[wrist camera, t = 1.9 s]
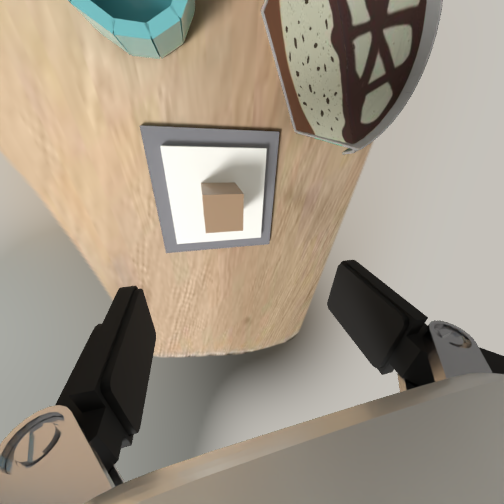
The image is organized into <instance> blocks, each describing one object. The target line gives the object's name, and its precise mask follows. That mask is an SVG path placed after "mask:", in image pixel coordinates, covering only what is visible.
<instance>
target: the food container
mask: <svg viewBox="0 0 504 504" xmlns="http://www.w3.org/2000/svg"><path fill="white" fill-rule="evenodd" d="M442 2H443V0H264V3H263V6H262V8H261V14H262V17H263V21H264V25H265V28H266V32H267V35H268V39H269V42H270V46H271V50H272V53H273V57H274V60H275V64H276V68H277V71H278V75H279V78H280V82H281V86H282V89H283V93H284V96H285V100H286V103H287V107H288V111H289V114H290V118H291V121H292V125H293V129H294V132H295V133H298V134H301V135H305V136H308V137H312V138H315V139H319V140H322V141H326V142H329V143H333V144H336V145H340V146H343V147H347V148H348V149H347V150H345V151H344V152H342V154H343V155H344V154H350V153H355V152H356V151H358V150H361V149H362V148H364V147H365V146H367V145H368V144H370V143H371V142H372V141H374V140H375V139H376V138H377V137H378V136H379V135H381V134H382V133H383V132H384V131H385V129H386V128H388V126H389V125H390V124H391V123H392V122H393V121H394V120H395V118H396V117H397V115H399V113H400V112H401V111H402V109H403V108H404V106H405V105H406V103H407V101H408V100H409V98H410V97H411V95H412V94H413V92H414V90H415V88H416V86H417V84H418V82H419V80H420V78H421V76H422V74H423V71H424V69H425V66H426V64H427V61H428V59H429V56H430V53H431V50H432V47H433V44H434V40H435V37H436V34H437V29H438V25H439V20H440V15H441V10H442Z"/></svg>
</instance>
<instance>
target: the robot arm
mask: <svg viewBox="0 0 504 504" xmlns="http://www.w3.org/2000/svg"><path fill="white" fill-rule="evenodd" d="M327 305H328V308H329V310H330V311H331V312H332V313H333V315H334V316H335V318H336V319H337V320H338V322H339V323H340V324H341V325H342V327H343V328H344V329H345V331H346V332H347V333H348V334H349V336H350V337H351V338H352V340H353V341H354V342H355V344H356V345H357V346H358V347H359V349H360V350H361V351H362V352H363V354H364V355H365V356H366V358H367V359H368V360H369V361H370V363H371V364H372V365H373V366H374V367H375V368H377V369H378V370H379V371H380V373H381V374H382V375H383V374H387V373H390V372H392V371H393V370H394V369H395V370H396V372H397V373H398V380H399V388H400V393H396V394H393V395H390V396H386V397H383V398H380V399H377V400H373V401H370V402H367V403H364V404H360V405H357V406H354V407H351V408H348V409H344V410H341V411H338V412H335V413H332V414H328V415H325V416H322V417H319V418H315V419H312V420H309V421H306V422H303V423H299V424H296V425H293V426H290V427H287V428H284V429H281V430H277V431H274V432H271V433H268V434H265V435H262V436H258V437H256V438H252V439H249V440H246V441H243V442H240V443H237V444H233V445H230V446H227V447H224V448H221V449H218V450H215V451H211V452H209V453H205V454H203V455H200V456H197V457H194V458H191V459H188V460H185V461H182V462H179V463H176V464H173V465H170V466H167V467H164V468H161V469H158V470H155V471H153V472H151V473H148V474H145V475H143V476H140V477H138V478H135V479H133V480H130V481H128V482H124V480H123V478H122V476H121V474H120V473H119V471H118V469H117V467H116V466H115V463H116V462H117V461H118V459H119V454H120V450H121V448H123V447H127V446H131V444H132V440H133V435H134V434H135V433H138V432H139V429H140V425H141V419H142V414H143V408H144V403H145V397H146V392H147V386H148V380H149V375H150V368H151V364H152V358H153V353H154V347H155V341H156V332H155V329H154V325H153V322H152V319H151V315H150V312H149V309H148V306H147V302H146V299H145V296H144V292H143V290H142V289H138V288H137V286H130V287H122V288H119V290H118V292H117V294H116V296H115V298H114V300H113V302H112V304H111V307H110V309H109V311H108V313H107V315H106V317H105V319H104V321H103V323H102V324H98V325H97V326H96V327H95V328H94V330H93V332H92V333H91V335H90V338H89V339H88V341H87V343H86V345H85V347H84V349H83V351H82V353H81V355H80V357H79V359H78V361H77V363H76V365H75V368H74V369H73V371H72V373H71V375H70V377H69V379H68V381H67V383H66V385H65V387H64V389H63V391H62V393H61V395H60V397H59V399H58V401H57V403H56V405H55V406H50V407H47V408H45V409H42V410H40V411H38V412H36V413H34V414H33V415H31V416H29V417H28V418H26V419H25V420H24V421H22V422H21V423H20V424H19V425H18V426H16V427H15V428H14V429H13V430H12V431H11V432H10V433H9V434H8V435H7V437H5V438H4V440H3V441H2V442H1V444H0V504H504V356H502V355H499V354H496V353H493V352H491V351H487V350H485V349H482V348H479V347H478V345H477V343H476V342H475V341H474V339H473V338H472V337H471V336H470V335H469V334H467V333H466V332H465V331H463V330H462V329H461V328H459V327H457V326H454V325H453V324H450V323H447V322H444V321H432V322H431V323H430V324H429V325H428V326H427V325H426V324H425V321H426V320H427V318H428V317H426V316H425V315H424V314H423V313H421V312H420V311H419V310H418V309H416V308H415V307H414V306H413V305H411V304H410V303H409V302H407V301H406V300H405V299H403V298H402V297H401V296H400V295H399V294H397V293H396V292H395V291H393V290H392V289H391V288H390V287H388V286H387V285H386V284H385V283H383V282H382V281H381V280H379V279H378V278H377V277H376V276H374V275H373V274H372V273H371V272H369V271H368V270H367V269H365V268H364V267H363V266H362V265H360V264H359V263H358V262H356V261H355V260H347V261H342V262H341V264H340V265H339V266H338V268H337V272H336V275H335V278H334V282H333V285H332V288H331V292H330V295H329V299H328V302H327Z"/></svg>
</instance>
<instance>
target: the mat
mask: <svg viewBox="0 0 504 504" xmlns="http://www.w3.org/2000/svg"><path fill="white" fill-rule="evenodd" d="M140 130H141V135H142V139H143V144H144V149H145V154H146V158H147V163H148V168H149V173H150V178H151V182H152V187H153V192H154V197H155V202H156V206H157V211H158V216H159V221H160V226H161V230H162V235H163V240H164V245H165V249H166V253H172V252H183V251H195V250H206V249H218V248H229V247H241V246H252V245H264V244H269V241H270V230H271V219H272V208H273V197H274V186H275V176H276V165H277V154H278V143H279V132H274V131H252V130H229V129H206V128H184V127H161V126H140ZM161 145H166V146H207V147H248V148H267V152H266V167H265V182H264V197H263V212H262V227H261V238H248V239H236V240H223V241H211V242H198V243H185V244H177V241H176V235H175V229H174V223H173V218H172V212H171V206H170V200H169V194H168V189H167V183H166V177H165V171H164V165H163V160H162V154H161V148H160V146H161Z"/></svg>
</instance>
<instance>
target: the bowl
mask: <svg viewBox="0 0 504 504" xmlns="http://www.w3.org/2000/svg"><path fill="white" fill-rule="evenodd" d="M68 1H69V2H70V3H71V4H72V5H73V6H74V7H75V8H76V9H77V10H78V11H79V12H80V13H81V14H82V15H83V16H84V17H85V18H86V19H87V20H88V21H89V22H90V23H91V24H92V25H93V26H94V27H95V28H96V30H97V31H98V32H99V33H101V34H102V35H103V36H105V37H106V38H107V39H109V40H110V41H112V42H113V43H114V44H116V45H117V46H119V47H120V48H121V49H123V50H124V51H126V52H127V53H128V54H130V55H132V56H139V57H147V58H156V59H160V57H161V58H163V57H165V56H166V55H168V54H169V53H171V52H172V51H174V50H175V49H177V48H178V47H179V46H181V45H182V44H183V43H184V41H185V38H186V36H187V33H188V30H189V27H190V24H191V22H192V19H193V16H194V13H195V0H68Z"/></svg>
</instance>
